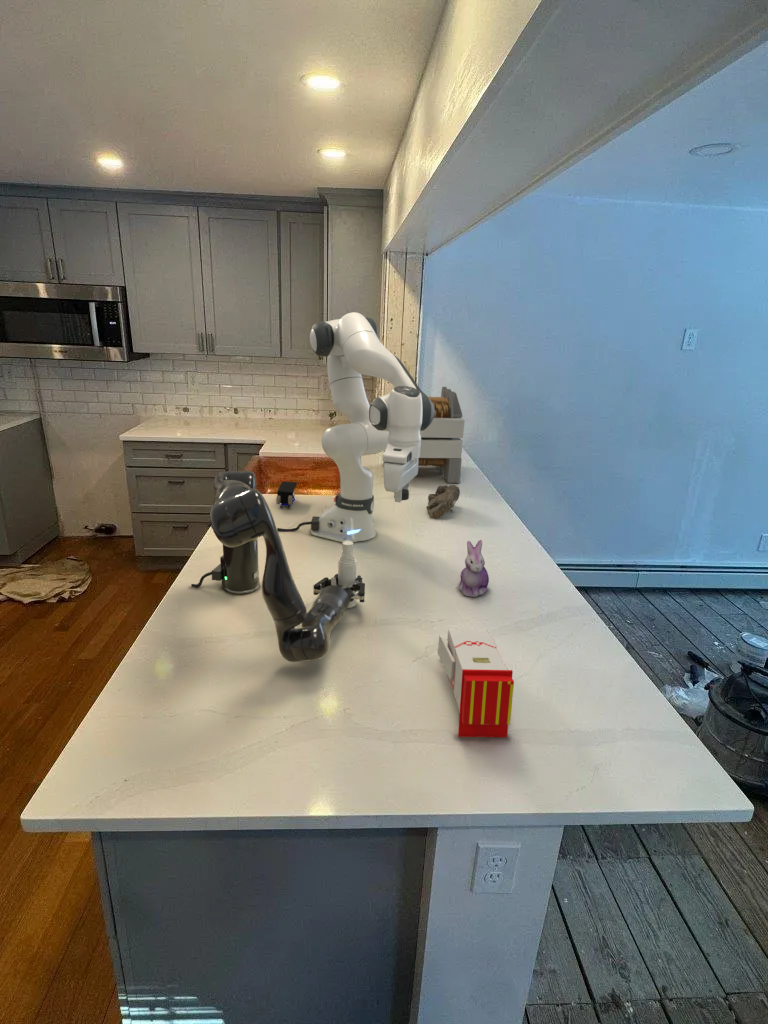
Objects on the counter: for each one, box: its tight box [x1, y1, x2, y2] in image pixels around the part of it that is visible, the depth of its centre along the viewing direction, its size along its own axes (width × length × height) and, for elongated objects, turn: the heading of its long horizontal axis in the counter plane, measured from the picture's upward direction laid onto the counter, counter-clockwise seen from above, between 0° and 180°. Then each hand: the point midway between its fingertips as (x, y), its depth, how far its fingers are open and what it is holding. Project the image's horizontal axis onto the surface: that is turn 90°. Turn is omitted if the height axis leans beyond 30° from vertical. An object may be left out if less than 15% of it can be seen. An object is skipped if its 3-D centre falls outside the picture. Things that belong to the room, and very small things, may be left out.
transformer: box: [383, 386, 465, 484], centre depth 268 cm, size 34×33×41 cm
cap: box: [393, 489, 410, 501], centre depth 155 cm, size 4×4×2 cm
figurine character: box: [275, 480, 298, 509], centre depth 223 cm, size 7×8×15 cm
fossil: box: [426, 484, 461, 519], centre depth 223 cm, size 22×10×15 cm
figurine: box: [459, 539, 490, 598], centre depth 159 cm, size 9×10×15 cm
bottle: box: [337, 541, 358, 609], centre depth 149 cm, size 5×5×18 cm
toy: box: [437, 628, 515, 738], centre depth 117 cm, size 12×13×30 cm
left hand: (349, 577), depth 152 cm, fingers closed on bottle, 4 cm apart
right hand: (401, 498), depth 155 cm, fingers closed on cap, 4 cm apart
